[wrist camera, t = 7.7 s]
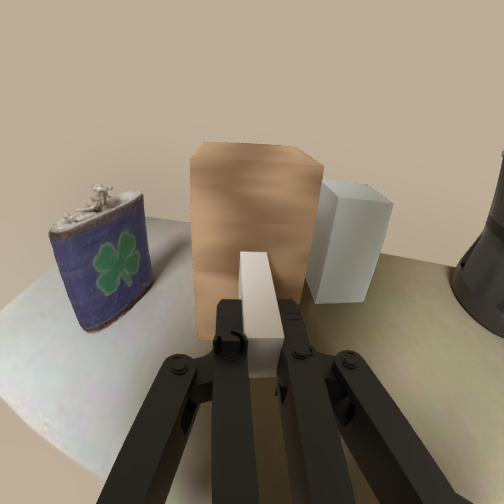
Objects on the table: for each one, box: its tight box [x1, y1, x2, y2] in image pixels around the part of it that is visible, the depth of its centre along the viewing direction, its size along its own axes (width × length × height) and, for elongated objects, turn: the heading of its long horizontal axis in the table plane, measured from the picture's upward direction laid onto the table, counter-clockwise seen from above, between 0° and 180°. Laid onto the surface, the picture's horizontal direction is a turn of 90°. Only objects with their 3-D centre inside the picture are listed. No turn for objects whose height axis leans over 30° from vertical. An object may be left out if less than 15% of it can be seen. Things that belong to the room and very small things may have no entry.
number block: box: [305, 180, 393, 304], centre depth 24 cm, size 5×5×10 cm
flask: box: [49, 184, 153, 334], centre depth 20 cm, size 9×3×11 cm, turn 157°
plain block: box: [190, 142, 324, 341], centre depth 20 cm, size 7×7×13 cm
